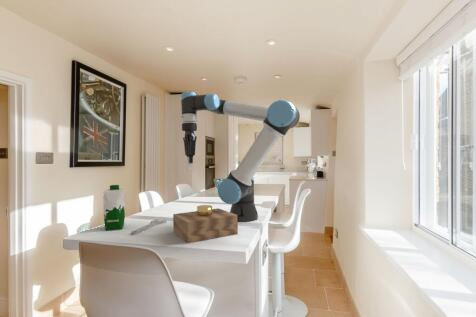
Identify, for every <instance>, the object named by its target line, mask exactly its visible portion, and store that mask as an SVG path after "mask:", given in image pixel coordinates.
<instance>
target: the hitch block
mask: <svg viewBox="0 0 476 317" xmlns="http://www.w3.org/2000/svg"><path fill="white" fill-rule="evenodd" d="M172 218H173V220H172V221H173V223H172V224H173V234H175V235H176V236H178V237H179V238H180V239H182V240H183V241H184V242H186V243H187V244H190V243H191V244H192V243H197V242H203V241H207V240H212V239H217V238H223V237H230V236H235V235H238V234H239V233H238V232H239V230H238V228H239V227H238V226H239V224H238V222H239V221H238V220H237V215H236V214H233V213H230V211H228V210H223V209H221V208H212V215H210V216H198V215H197V210H194V211H188V212H187V211H186V212H181V213H174V214H172Z"/></svg>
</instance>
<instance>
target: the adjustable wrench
mask: <svg viewBox="0 0 476 317" xmlns="http://www.w3.org/2000/svg"><path fill="white" fill-rule="evenodd" d="M166 223H167V219H166V218H163V219H161V220H159V219H158V218H157V219H153V220H150V223H148V224H146V225H143V226H141V227H139V228H137V229H134V230H132V231H130V234H131V236H135V235H139V234H140V233H142V232H145V231H147V230H149V229H151V228H153V227H155V226H158V225H163V224H166Z"/></svg>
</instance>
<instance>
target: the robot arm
mask: <svg viewBox="0 0 476 317" xmlns="http://www.w3.org/2000/svg"><path fill="white" fill-rule="evenodd" d="M180 102H181V103H180V104H181V106H180V107H181V115H180V119H181V122H182V123H181V131H182V132H184V137H182V141H183V146H184V154H185V156H186V161H187V162H186V163H187V164H186V166H187V168H186V169H187V171H190V170H191V171H192V170H194V156H196V147H197V146H196V143H197V138H198V137H197V136H196V135H195V132H197V131H198V124H197V122H198V117H197V116H198V114H197V112H198V111H208V112H211V113H215V114H217V115H225V116H229V117H236V118H243V119H247V120H248V119H249V120H253V121H259V122H262V125H263V127H262V128H261V131H260V132H259V134H258V135H257V136H256V138H255V140H254V141H253V143H252V144H251V145H250V147H249V149H248V150H247V152H246V154H244V157H243V158H242V159H241V161H240V162H239V165H238V166H237V167H236V169H234V170H233V169H232V170H231V171H230V172H229V173H228V175H227V177H226V178H225V179H223V180H222V181H221V182H219V184H218V187H217V194H218V197H219V198H220V200H221V201H222V202H223V203H224V204H228V205H231V206H230V210H229V212H230V213H233V214H236V215H237V220H238V222H240V223H241V222H252V221H256V220H258V219H259V214H258V211H257V207H256V204H255V178H254V176H255V174H256V173H257V171H258V170H259V168H260V167H261V165H262V164H263V162H264V161H265V159H266V158H267V157H268V156H269V154H270V152H271V151H272V149H273V147H275V145H276V143H277V142H278V141H279V139H280V138H283V137H285V136H286V134H287V133H288V131H289V130H290V129H292V128H294V127H296V126H297V124H298V123H299V122H300V116H301V115H300V112H299V109H298V108H297V107H296V106H295V105H294V104H293V103H292V102H290V101H288V100H286V99H278V100H275V101H273V102H272V103H271V104H270V105H269V106H266V105H265V106H264V105H261V104H260V105H259V104H251V103H246V102H238V101H233V100H232V101H231V100H226V99H220V97H219V96H218V95H217V93H208V94H197V93H196V92H195V91H183V92H181V98H180Z"/></svg>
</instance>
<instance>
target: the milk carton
mask: <svg viewBox="0 0 476 317" xmlns="http://www.w3.org/2000/svg"><path fill="white" fill-rule="evenodd" d="M102 199H103V219H104V230H105V231H118V230H119V231H120V230H123V228H124V226H125V220H126V219H125V218H126V212H125V211H126V210H125V208H126V207H125V203H126V202H125V201H126V200H125V189H124V188H120V185H119V184H112V185H109V189H106V190H104V191H103V198H102Z"/></svg>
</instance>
